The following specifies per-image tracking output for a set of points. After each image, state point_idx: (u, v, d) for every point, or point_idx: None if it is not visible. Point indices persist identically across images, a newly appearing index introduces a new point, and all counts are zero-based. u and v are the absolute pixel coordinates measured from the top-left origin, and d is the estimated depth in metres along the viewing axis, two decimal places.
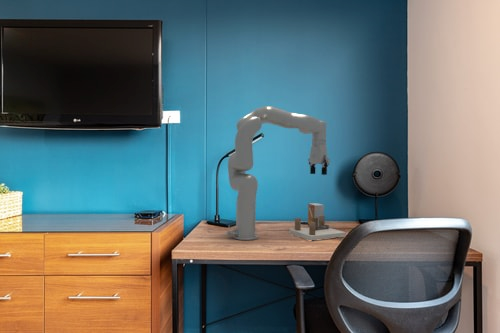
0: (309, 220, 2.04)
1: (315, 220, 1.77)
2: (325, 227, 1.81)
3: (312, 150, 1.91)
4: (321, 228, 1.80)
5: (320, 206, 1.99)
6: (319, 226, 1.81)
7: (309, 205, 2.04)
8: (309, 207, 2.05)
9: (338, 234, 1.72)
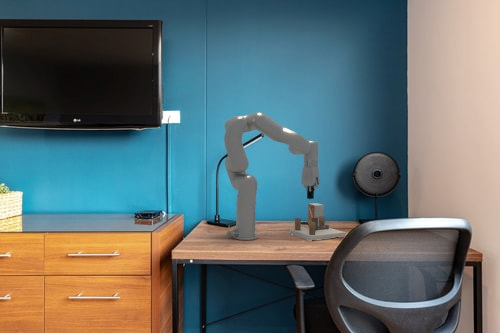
0: (309, 220, 2.04)
1: (315, 220, 1.77)
2: (325, 227, 1.81)
3: (304, 171, 1.83)
4: (321, 228, 1.80)
5: (320, 206, 1.99)
6: (319, 226, 1.81)
7: (309, 205, 2.04)
8: (309, 207, 2.05)
9: (338, 234, 1.72)
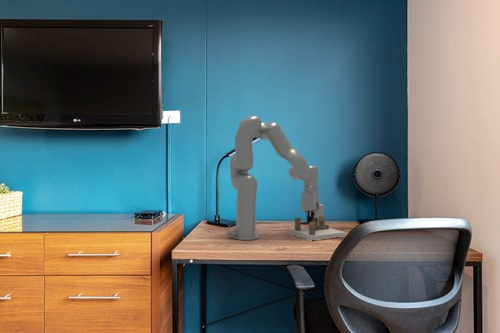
0: None
1: (315, 220, 1.77)
2: (325, 227, 1.81)
3: (304, 196, 1.82)
4: (321, 228, 1.80)
5: (320, 206, 1.99)
6: (319, 226, 1.81)
7: None
8: None
9: (338, 234, 1.72)
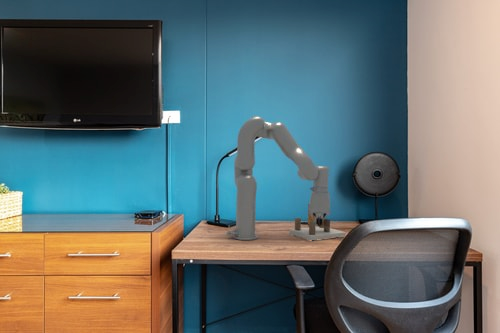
0: (309, 220, 2.04)
1: (329, 221, 1.74)
2: None
3: (315, 198, 1.73)
4: None
5: None
6: None
7: (309, 205, 2.04)
8: (309, 207, 2.05)
9: (338, 234, 1.72)
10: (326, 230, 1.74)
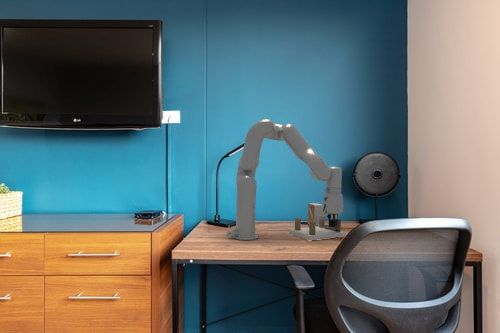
0: (309, 220, 2.04)
1: None
2: None
3: (333, 199, 1.70)
4: None
5: (320, 206, 1.99)
6: (331, 227, 1.79)
7: (309, 205, 2.04)
8: (309, 207, 2.05)
9: (338, 234, 1.72)
10: (339, 230, 1.75)
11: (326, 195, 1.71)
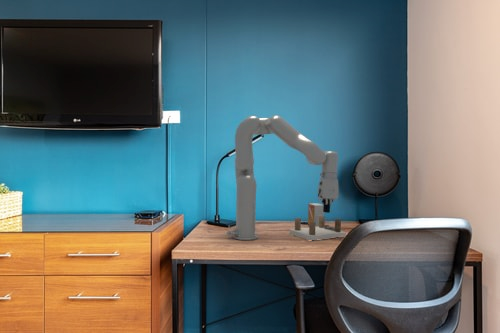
0: (309, 220, 2.04)
1: None
2: None
3: (328, 184, 1.69)
4: None
5: (320, 206, 1.99)
6: (331, 227, 1.79)
7: (309, 205, 2.04)
8: (309, 207, 2.05)
9: (338, 234, 1.72)
10: (339, 230, 1.75)
11: (321, 180, 1.70)
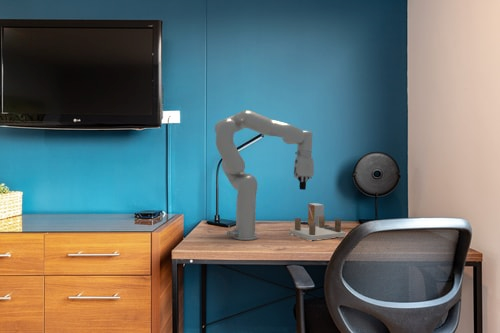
0: (309, 220, 2.04)
1: None
2: None
3: (303, 162, 1.77)
4: None
5: (320, 206, 1.99)
6: (331, 227, 1.79)
7: (309, 205, 2.04)
8: (309, 207, 2.05)
9: (338, 234, 1.72)
10: (339, 230, 1.75)
11: (297, 158, 1.78)
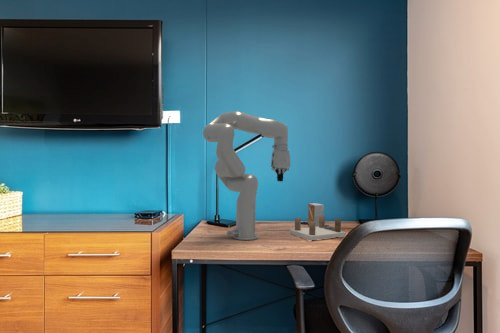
0: (309, 220, 2.04)
1: None
2: None
3: (279, 154, 1.84)
4: None
5: (320, 206, 1.99)
6: (331, 227, 1.79)
7: (309, 205, 2.04)
8: (309, 207, 2.05)
9: (338, 234, 1.72)
10: (339, 230, 1.75)
11: (273, 151, 1.85)
